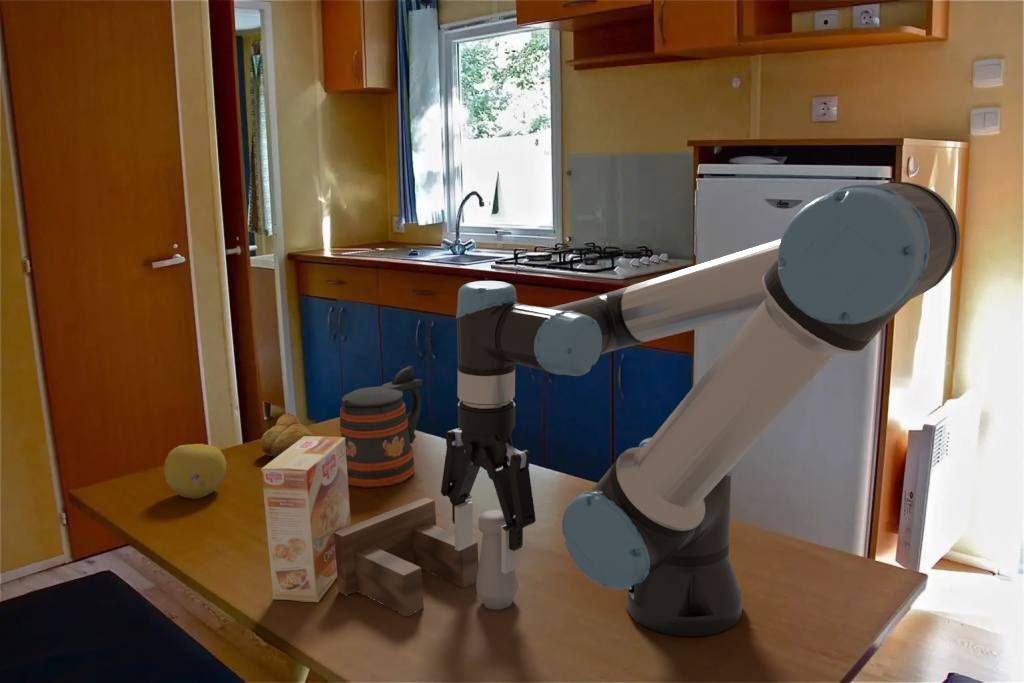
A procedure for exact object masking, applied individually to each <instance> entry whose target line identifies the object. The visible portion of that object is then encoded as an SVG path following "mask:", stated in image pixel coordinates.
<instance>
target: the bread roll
mask: <svg viewBox="0 0 1024 683" xmlns="http://www.w3.org/2000/svg"><path fill="white" fill-rule="evenodd" d="M303 436H314V435H313V433H312V432H311V431H310V429H309V428H307V426H305V425H304V424H301V422H300V421H299V418H297V417H296V416H295V414H292V413H284V414H282V415H281V416H280V417H278V419H277V421H276V423H275V425H274V426H272V427H271V428H270V429H268V430H266V431H265V432H264V433H263V435H262V437H261V440H260V447H261V450H262V452H263V453H264V454H265V455H266V456H270V457H273V458H274V459H275V458H276V457H277V456H279V455H280V454H281V453H283V452H284V451H285V450H287V449H288V448H289V447H291V446H292V445H293V444H295V443H296V442H297V441H299V440H300V439H301V438H302V437H303Z"/></svg>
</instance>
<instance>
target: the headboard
mask: <svg viewBox="0 0 1024 683" xmlns="http://www.w3.org/2000/svg"><path fill="white" fill-rule="evenodd" d="M334 540H335V553H336V565H337V578H336V579H337V588H338V589H337V590H338V592H339V593H340V592H341V593H340V594H342V593H343V594H342V595H344V594H345V595H344V596H346V595H349V594H351V593H353V592H355V593H357V592H356V591H359V592H360V593H359V592H358V593H359V594H361V593H362V594H361V595H363V594H365V595H367V596H369V597H371V598H372V599H375V600H376V601H379V602H381V603H383V604H384V605H386V606H388V607H390V608H392V609H394V610H396V611H398V612H400V613H401V614H403V615H405V616H408V617H410V616H411V615H410V614H412V613H414V612H415V611H418V610H420V609H422V608H424V590H423V576H422V575H423V572H422V571H424V570H426V571H428V572H430V573H429V574H431V573H433V574H435V575H437V576H439V577H438V578H440V577H441V578H440V579H442V578H443V580H444V579H445V580H444V581H446V580H448V581H447V582H449V581H450V582H449V583H451V582H452V583H451V584H453V583H454V584H453V585H455V584H456V585H455V586H457V585H458V587H460V586H461V587H460V588H462V587H463V588H462V589H466V588H468V587H470V586H472V585H474V584H476V581H477V574H478V566H479V549H478V548H479V546H478V545H479V544H478V541H476V540H474V539H473V545H471V546H469V547H467V548H465V549H462V550H460V551H457V550H455V532H453V531H450V530H447V529H445V528H442V527H440V526H437V516H436V499H432V498H430V497H428V496H427V497H422V498H421V499H418V500H415V501H413V502H410V503H407V504H405V505H402V506H400V507H397V508H394V509H392V510H389V511H386V512H384V513H382V514H379V515H377V516H374V517H371V518H368V519H366V520H363V521H360V522H358V523H355V524H353V525H352V524H351V526H350V527H347V528H345V529H342V530H339V531H337V532H334ZM422 569H424V570H422ZM426 571H425V572H426ZM428 572H427V573H428ZM433 574H432V575H433ZM435 575H434V576H435ZM437 576H436V577H437ZM465 587H466V588H465ZM353 594H354V593H353ZM351 595H352V594H351ZM365 595H364V596H365ZM349 596H350V595H349ZM372 599H371V600H372ZM376 601H375V602H376ZM384 605H383V606H384ZM386 606H385V607H386ZM388 607H387V608H388ZM390 608H389V609H390ZM392 609H391V610H392ZM394 610H393V611H394ZM422 610H423V609H422ZM396 611H395V612H396ZM420 611H421V610H420ZM398 612H397V613H398ZM418 612H419V611H418ZM400 613H399V614H400ZM401 614H400V615H401ZM414 614H415V613H414ZM403 615H402V616H403ZM409 615H410V616H409ZM412 615H413V614H412ZM405 616H404V617H405Z"/></svg>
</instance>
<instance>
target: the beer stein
mask: <svg viewBox="0 0 1024 683" xmlns="http://www.w3.org/2000/svg"><path fill="white" fill-rule="evenodd" d="M422 386H423V380H422V379H420V378H419V379H417V378H416V375H415V370H414V367H413V366H412V365H407V366H406V367H404V368H402V369H400V370H399V371H397V373H396V375H395V376H394V378H393V380H392V381H390V382H386V383H383V384H381V385H380V386H371V387H363V388H358V389H355V390H353V391H351V392H348V393H347V394H345V395H344V396H342V398H341V402H342V403H341V407H340V409H339V412H340V413H339V415H340V416H339V432H340V437H345V446H346V460H347V475H348V486H351V487H356V488H358V487H359V488H366V489H367V488H371V487H373V488H371V489H374V487H375V488H380V487H381V488H383V487H382V486H387V487H390V486H394V485H393V484H395V485H398V484H397V483H399V484H401V483H403V481H404V482H405V481H406V480H407V479H409V478H410V477H411V476H412V475H414V473H415V470H416V469H415V461H414V460H415V459H414V455H415V454H414V453H415V452H414V451H413V446H412V445H411V444H414V442H415V440H416V438H417V435H416V434H415V431H416V427H417V425H418V422H419V420H420V415H421V411H422V410H421V409H422V398H421V394H420V391H419V388H418V387H422ZM405 392H409V393H410V394H411V397H412V405H411V408H410V411H409V412H408V413H407V410H406V408H407V407H406V403H405V401H404V399H403V397H404V394H403V393H405ZM389 485H390V486H389Z"/></svg>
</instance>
